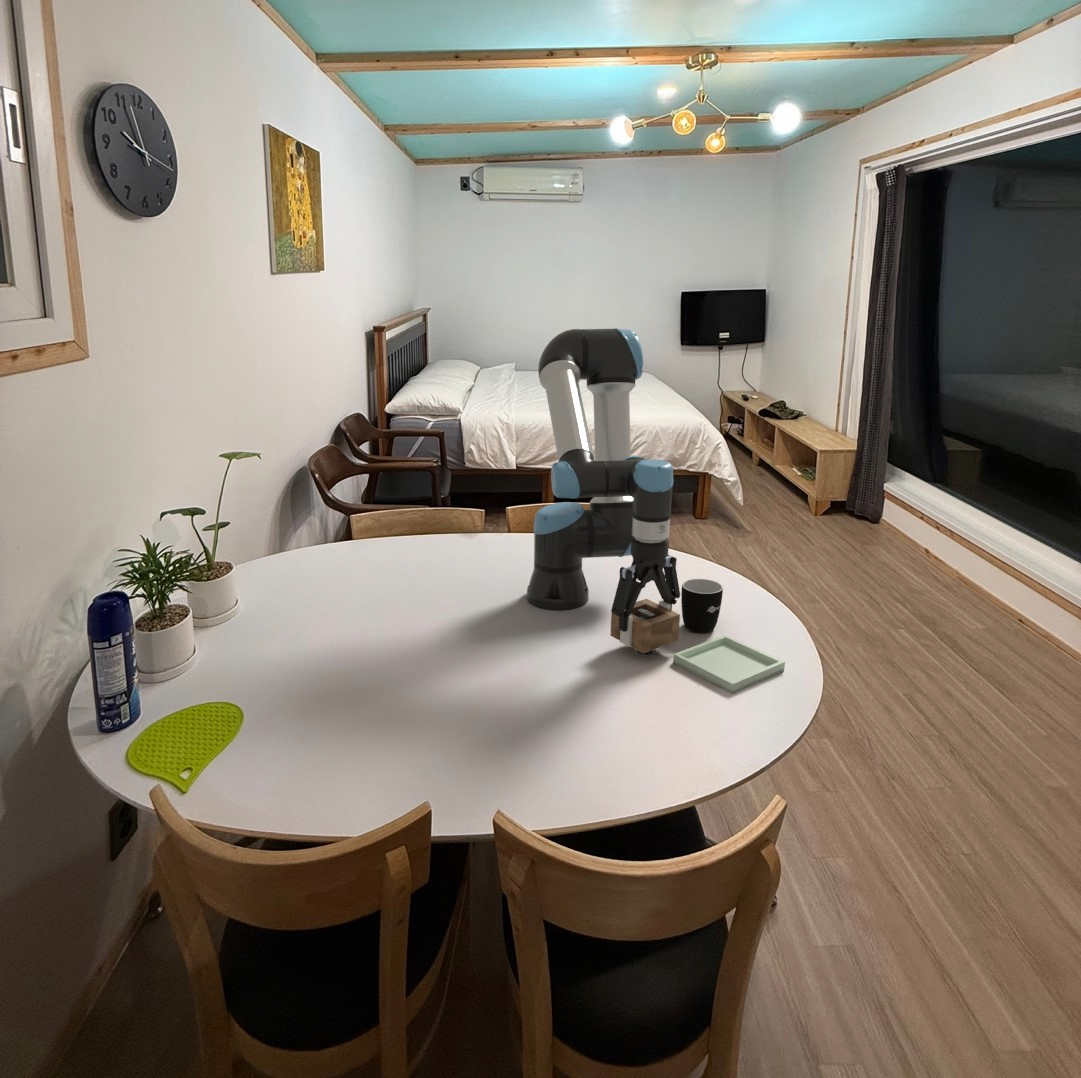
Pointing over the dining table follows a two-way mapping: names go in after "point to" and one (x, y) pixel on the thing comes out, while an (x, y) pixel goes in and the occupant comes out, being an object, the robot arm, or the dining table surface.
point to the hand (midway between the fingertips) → (644, 637)
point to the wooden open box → (650, 627)
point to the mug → (701, 604)
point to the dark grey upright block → (645, 616)
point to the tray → (728, 663)
